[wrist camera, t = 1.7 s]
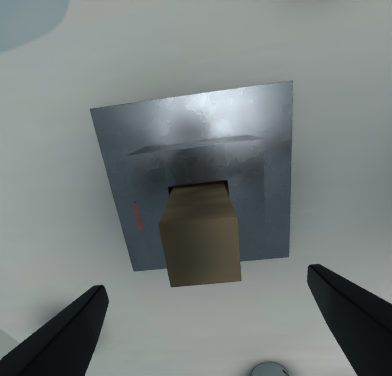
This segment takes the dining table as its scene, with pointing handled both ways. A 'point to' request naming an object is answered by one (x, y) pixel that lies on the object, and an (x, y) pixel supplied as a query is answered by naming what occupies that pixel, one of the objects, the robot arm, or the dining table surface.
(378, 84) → the dining table surface
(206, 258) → the post
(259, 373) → the cup
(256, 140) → the stand
